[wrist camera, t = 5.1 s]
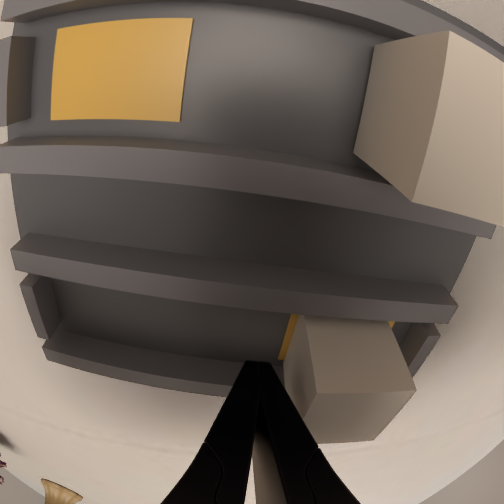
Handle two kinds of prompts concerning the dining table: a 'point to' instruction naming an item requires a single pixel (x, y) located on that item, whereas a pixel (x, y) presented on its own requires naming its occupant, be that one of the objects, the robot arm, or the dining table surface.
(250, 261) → the switch bank
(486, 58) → the beige rectangular block
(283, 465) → the robot arm
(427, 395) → the dining table surface
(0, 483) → the flower
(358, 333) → the tab
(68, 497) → the hand bell
